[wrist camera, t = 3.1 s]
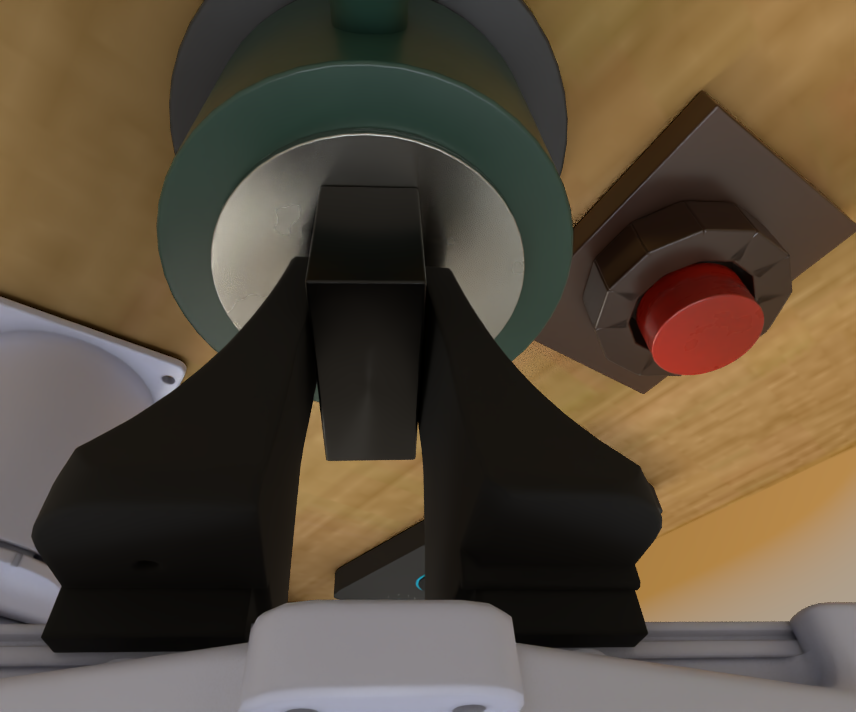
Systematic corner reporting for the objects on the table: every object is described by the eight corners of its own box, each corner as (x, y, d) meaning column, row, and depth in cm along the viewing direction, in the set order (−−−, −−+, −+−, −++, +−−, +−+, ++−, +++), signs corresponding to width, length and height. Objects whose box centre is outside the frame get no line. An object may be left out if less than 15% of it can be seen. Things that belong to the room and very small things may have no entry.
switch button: (680, 354, 22) (698, 388, 21) (614, 318, 21) (629, 352, 19) (762, 290, 20) (787, 323, 19) (696, 244, 19) (718, 277, 17)
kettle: (495, 349, 23) (538, 563, 17) (253, 349, 23) (201, 573, 16) (595, -193, 12) (828, -171, 6) (128, -226, 12) (-192, -245, 5)
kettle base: (568, 264, 22) (573, 277, 22) (269, 323, 23) (266, 336, 23) (552, -141, 14) (559, -137, 13) (88, -16, 15) (76, -9, 14)
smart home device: (326, 598, 37) (586, 459, 28) (328, 572, 39) (577, 430, 29) (418, 628, 42) (669, 516, 32) (417, 604, 43) (658, 489, 34)
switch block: (635, 375, 27) (657, 426, 25) (499, 306, 23) (511, 359, 21) (841, 211, 21) (893, 258, 19) (702, 89, 18) (746, 130, 16)
